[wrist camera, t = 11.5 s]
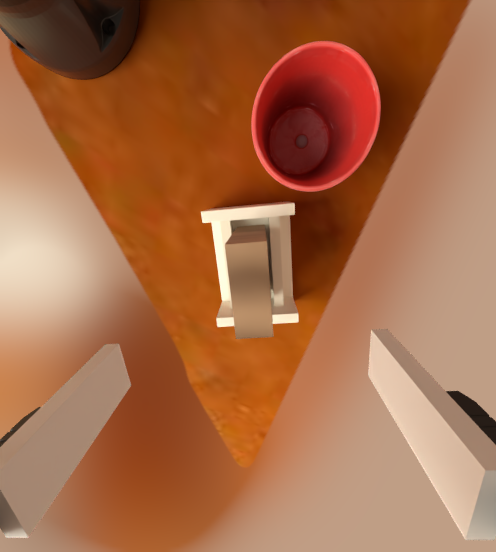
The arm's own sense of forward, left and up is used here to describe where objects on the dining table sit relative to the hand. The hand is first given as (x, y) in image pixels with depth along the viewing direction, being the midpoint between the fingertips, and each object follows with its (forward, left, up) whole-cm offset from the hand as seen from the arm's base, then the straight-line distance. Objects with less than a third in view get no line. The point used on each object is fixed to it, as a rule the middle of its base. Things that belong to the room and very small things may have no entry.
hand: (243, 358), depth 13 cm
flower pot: (-13, +7, -23) cm, 27 cm away
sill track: (0, 0, -22) cm, 22 cm away
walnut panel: (0, 0, -21) cm, 21 cm away
